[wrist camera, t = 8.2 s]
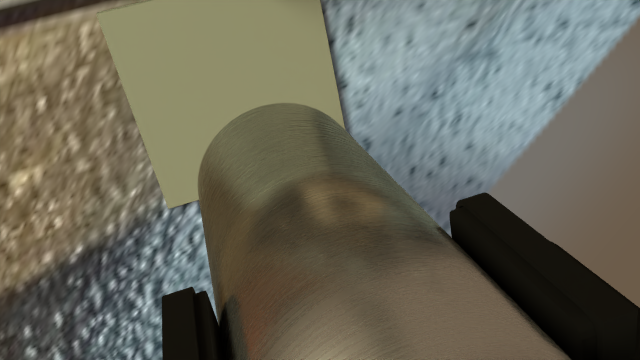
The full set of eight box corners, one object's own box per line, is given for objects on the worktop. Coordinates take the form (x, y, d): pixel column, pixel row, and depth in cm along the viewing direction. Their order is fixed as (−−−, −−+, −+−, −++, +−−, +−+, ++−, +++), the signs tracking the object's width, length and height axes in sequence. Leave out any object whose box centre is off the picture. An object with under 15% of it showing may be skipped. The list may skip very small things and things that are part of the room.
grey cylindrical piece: (165, 124, 15) (181, 589, 4) (349, 74, 16) (755, 357, 5) (219, 281, 17) (319, 845, 6) (378, 231, 18) (701, 658, 7)
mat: (97, 12, 23) (96, 14, 22) (309, -39, 24) (312, -39, 24) (168, 204, 27) (168, 208, 26) (346, 151, 28) (349, 154, 27)
